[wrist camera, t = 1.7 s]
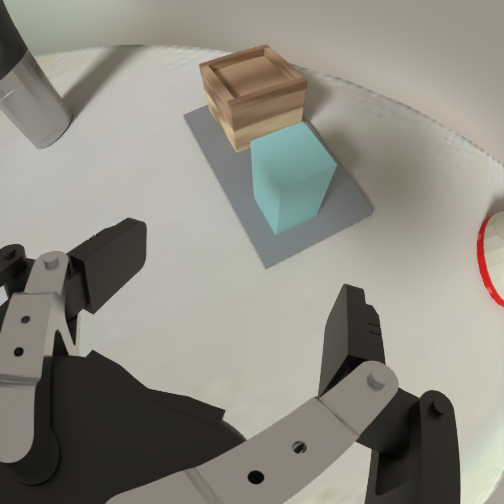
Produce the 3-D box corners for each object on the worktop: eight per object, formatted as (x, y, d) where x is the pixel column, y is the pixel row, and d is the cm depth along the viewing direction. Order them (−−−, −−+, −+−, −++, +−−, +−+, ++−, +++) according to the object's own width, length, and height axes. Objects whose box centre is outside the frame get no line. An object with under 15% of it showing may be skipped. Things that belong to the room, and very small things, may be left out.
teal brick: (254, 197, 31) (250, 141, 22) (293, 180, 32) (303, 121, 22) (275, 235, 30) (281, 188, 20) (316, 215, 30) (337, 164, 21)
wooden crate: (209, 109, 36) (199, 64, 28) (266, 88, 36) (266, 44, 29) (236, 152, 33) (230, 105, 25) (300, 128, 34) (307, 81, 26)
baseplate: (184, 119, 36) (183, 115, 35) (272, 87, 38) (272, 82, 37) (265, 269, 30) (265, 267, 29) (370, 214, 31) (373, 211, 30)
